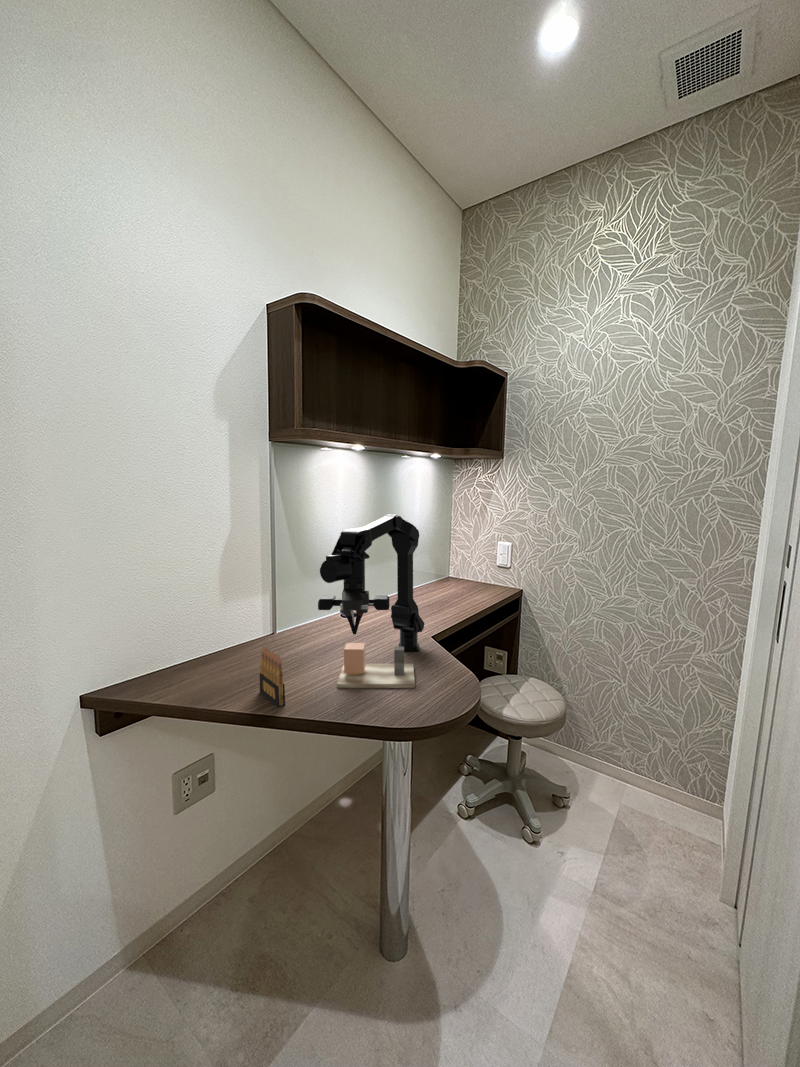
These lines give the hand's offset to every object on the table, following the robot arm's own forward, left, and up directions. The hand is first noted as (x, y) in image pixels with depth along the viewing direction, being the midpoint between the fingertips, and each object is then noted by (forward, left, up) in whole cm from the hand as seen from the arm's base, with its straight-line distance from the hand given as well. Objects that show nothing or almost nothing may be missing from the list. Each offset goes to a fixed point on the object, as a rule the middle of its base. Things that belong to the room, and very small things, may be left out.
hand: (354, 633), depth 123 cm
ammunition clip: (+13, -19, -12) cm, 26 cm away
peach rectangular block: (0, 0, -10) cm, 10 cm away
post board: (0, +6, -12) cm, 13 cm away
